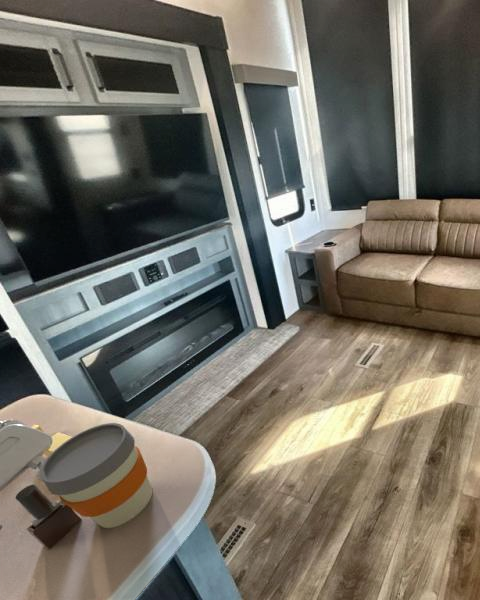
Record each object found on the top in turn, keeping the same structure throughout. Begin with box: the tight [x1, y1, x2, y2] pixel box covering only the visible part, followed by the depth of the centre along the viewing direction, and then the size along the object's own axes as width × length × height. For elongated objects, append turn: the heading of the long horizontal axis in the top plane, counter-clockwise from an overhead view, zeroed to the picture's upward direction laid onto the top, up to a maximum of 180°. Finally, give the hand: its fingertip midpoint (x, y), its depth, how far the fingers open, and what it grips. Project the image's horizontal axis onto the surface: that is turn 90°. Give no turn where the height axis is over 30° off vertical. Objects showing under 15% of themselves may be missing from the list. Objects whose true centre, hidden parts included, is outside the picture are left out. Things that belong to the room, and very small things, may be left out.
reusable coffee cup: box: [39, 422, 153, 529], centre depth 65 cm, size 13×12×15 cm
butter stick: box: [43, 432, 73, 458], centre depth 81 cm, size 7×4×4 cm, turn 68°
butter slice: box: [30, 424, 45, 432], centre depth 86 cm, size 2×4×4 cm, turn 159°
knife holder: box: [25, 500, 82, 550], centre depth 64 cm, size 5×2×5 cm, turn 159°
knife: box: [15, 484, 62, 528], centre depth 63 cm, size 4×3×12 cm, turn 159°
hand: (27, 504), depth 62 cm, fingers open, 8 cm apart
